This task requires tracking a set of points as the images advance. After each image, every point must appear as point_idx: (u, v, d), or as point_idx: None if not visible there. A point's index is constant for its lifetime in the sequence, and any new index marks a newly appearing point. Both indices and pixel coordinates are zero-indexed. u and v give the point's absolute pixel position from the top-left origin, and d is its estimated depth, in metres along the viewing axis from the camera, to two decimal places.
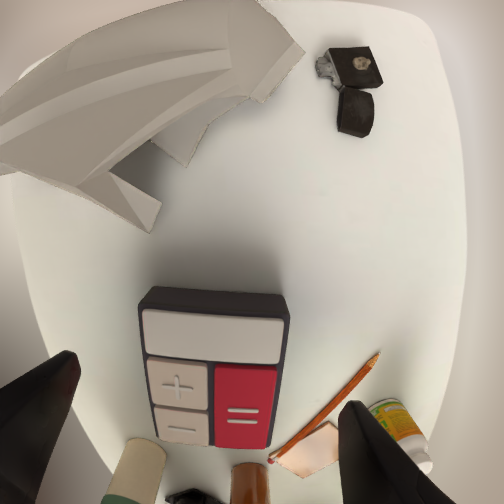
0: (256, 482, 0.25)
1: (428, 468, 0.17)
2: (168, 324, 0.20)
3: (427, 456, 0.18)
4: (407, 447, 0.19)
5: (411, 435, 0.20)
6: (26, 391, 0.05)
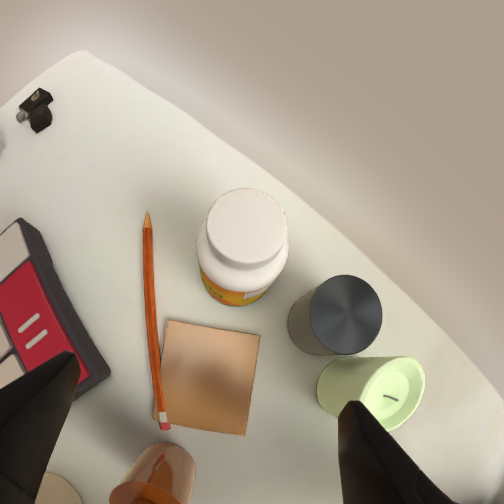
0: (145, 455, 0.15)
1: (261, 200, 0.15)
2: None
3: None
4: None
5: None
6: (26, 391, 0.05)
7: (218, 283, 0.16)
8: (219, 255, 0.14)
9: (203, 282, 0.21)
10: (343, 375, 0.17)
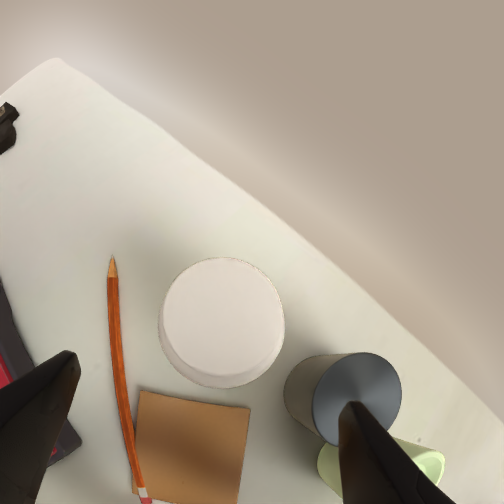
0: None
1: (243, 277, 0.10)
2: None
3: None
4: None
5: None
6: (26, 391, 0.05)
7: (189, 379, 0.11)
8: None
9: None
10: None
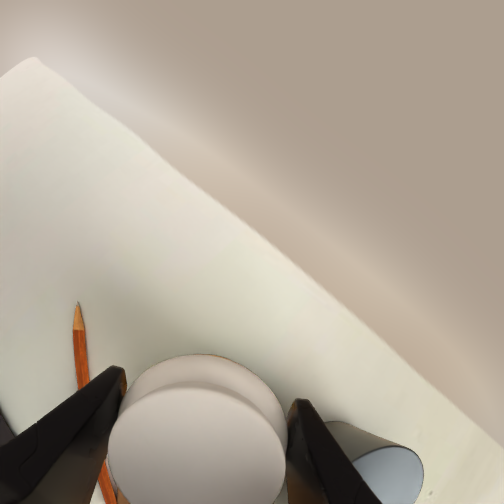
0: None
1: (223, 420, 0.05)
2: None
3: (179, 383, 0.06)
4: (131, 401, 0.07)
5: None
6: (78, 415, 0.05)
7: None
8: None
9: None
10: None
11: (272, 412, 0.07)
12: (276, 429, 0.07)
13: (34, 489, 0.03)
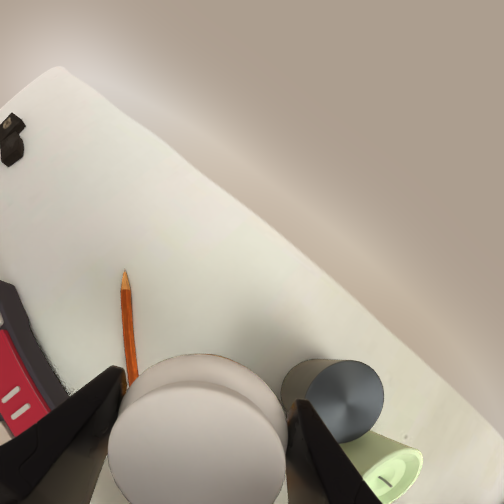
0: None
1: (223, 419, 0.05)
2: None
3: (179, 383, 0.06)
4: (131, 401, 0.07)
5: None
6: (78, 415, 0.05)
7: None
8: None
9: None
10: None
11: (272, 411, 0.07)
12: (276, 429, 0.07)
13: (34, 489, 0.03)
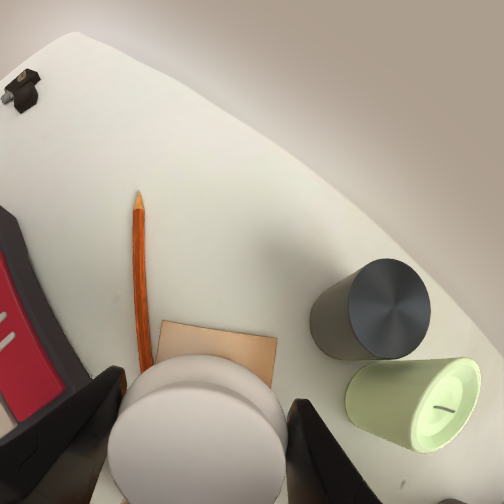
0: None
1: (223, 419, 0.05)
2: None
3: (179, 383, 0.06)
4: (131, 401, 0.07)
5: None
6: (78, 415, 0.05)
7: None
8: None
9: None
10: (385, 385, 0.13)
11: (272, 412, 0.07)
12: (276, 429, 0.07)
13: (34, 489, 0.03)
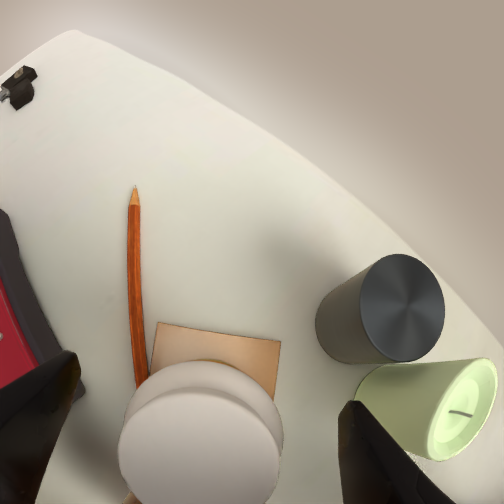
0: (132, 501, 0.10)
1: (223, 421, 0.06)
2: None
3: (182, 389, 0.07)
4: (137, 405, 0.08)
5: (150, 376, 0.09)
6: (26, 391, 0.05)
7: None
8: None
9: None
10: (397, 389, 0.12)
11: (268, 414, 0.08)
12: (272, 430, 0.08)
13: None
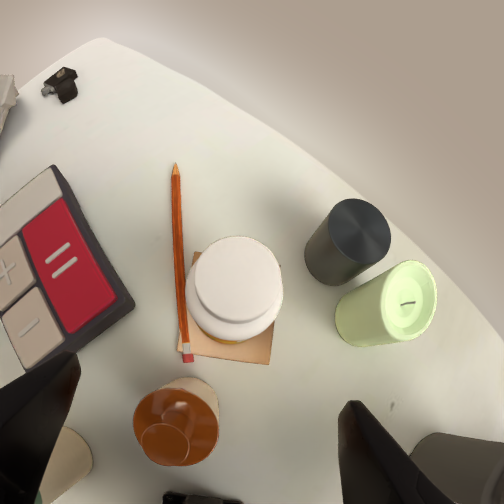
0: (170, 382, 0.17)
1: (252, 249, 0.14)
2: None
3: None
4: None
5: None
6: (26, 391, 0.05)
7: (209, 333, 0.15)
8: (209, 311, 0.13)
9: None
10: (361, 290, 0.20)
11: None
12: None
13: None
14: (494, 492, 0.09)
